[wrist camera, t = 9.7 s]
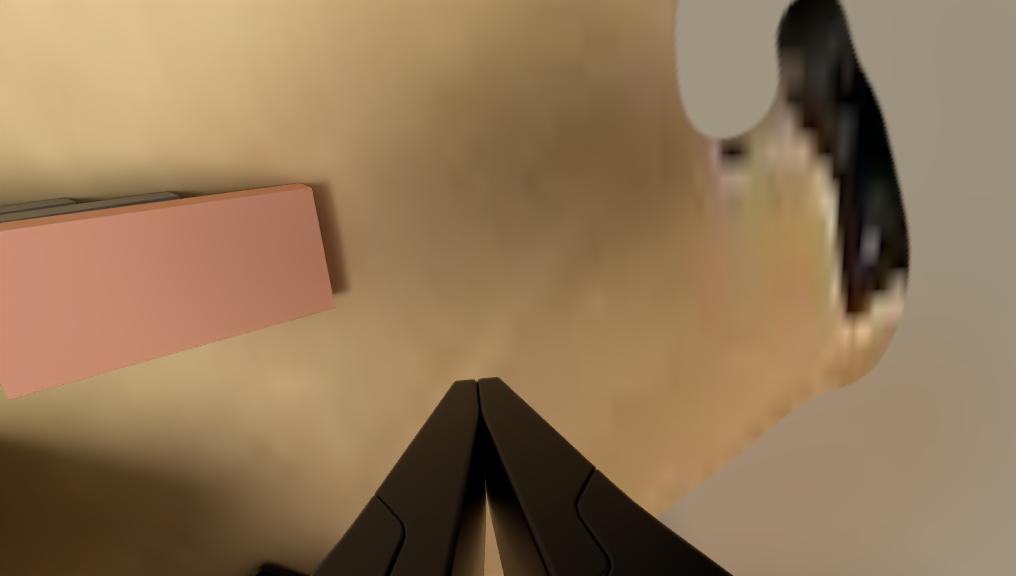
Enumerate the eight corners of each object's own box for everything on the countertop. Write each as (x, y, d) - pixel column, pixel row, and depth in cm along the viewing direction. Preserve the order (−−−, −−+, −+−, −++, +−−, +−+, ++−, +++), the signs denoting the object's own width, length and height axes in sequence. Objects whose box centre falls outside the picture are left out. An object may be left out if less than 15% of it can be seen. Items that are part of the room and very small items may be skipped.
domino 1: (311, 187, 18) (-74, 241, 13) (335, 307, 20) (8, 399, 15) (300, 182, 19) (-57, 230, 14) (323, 296, 21) (17, 377, 16)
